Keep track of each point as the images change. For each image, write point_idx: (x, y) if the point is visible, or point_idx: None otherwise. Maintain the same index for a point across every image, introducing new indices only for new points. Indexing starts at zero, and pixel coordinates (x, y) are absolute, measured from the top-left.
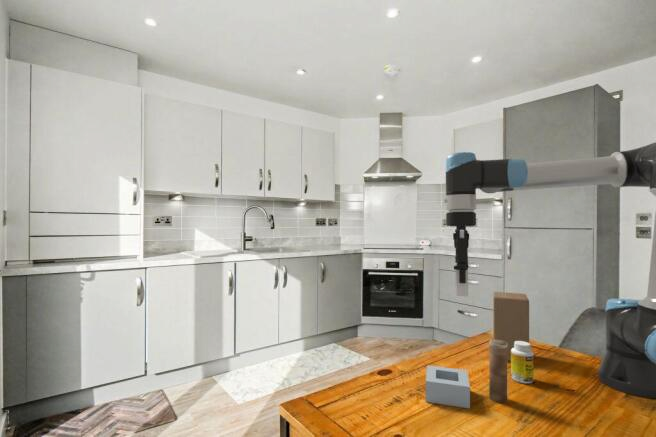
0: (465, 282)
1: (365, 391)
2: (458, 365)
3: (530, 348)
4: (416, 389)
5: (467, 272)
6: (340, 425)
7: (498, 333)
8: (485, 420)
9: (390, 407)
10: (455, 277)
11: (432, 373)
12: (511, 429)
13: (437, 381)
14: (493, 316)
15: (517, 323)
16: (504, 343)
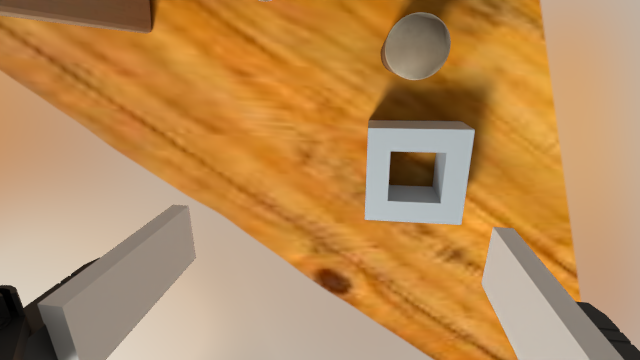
0: (597, 309)
1: (432, 307)
2: (234, 129)
3: None
4: (398, 222)
5: (616, 357)
6: None
7: (93, 8)
8: (507, 93)
9: None
10: (158, 292)
11: (413, 209)
12: (537, 43)
13: (458, 200)
14: (37, 18)
15: None
16: (427, 24)
